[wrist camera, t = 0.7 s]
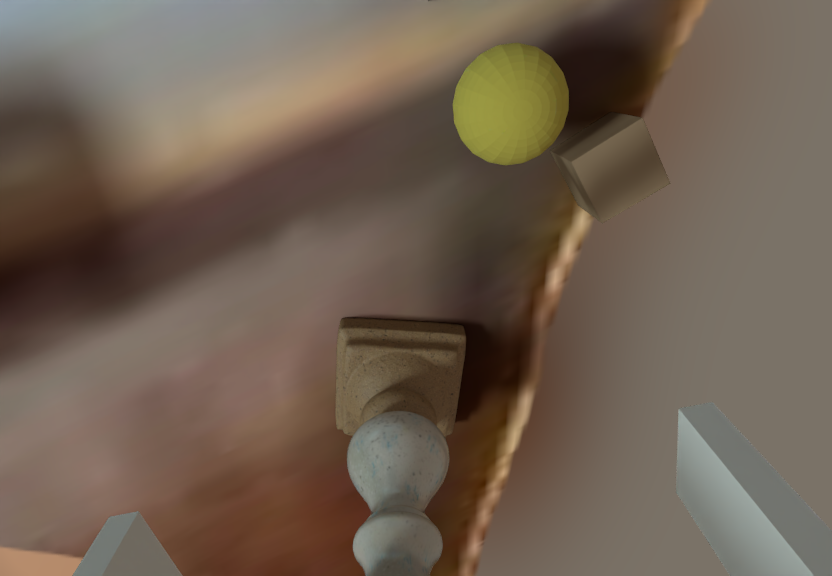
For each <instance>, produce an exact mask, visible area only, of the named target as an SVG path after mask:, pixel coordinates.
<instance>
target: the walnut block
mask: <svg viewBox="0 0 832 576" xmlns="http://www.w3.org/2000/svg"><path fill="white" fill-rule="evenodd" d="M550 152H551V154H552V156H553V158H554V160H555V162H556V163H557V165H558V167H559V169H560V171H561V173H562V175H563V177H564V179H565V181H566V183H567V185H568V187H569V189H570V191H571V192H572V194H573V196H574V198H575V200H576V202H577V204H578V206H580V207H581V208H582V209H584V210H585V211H586V212H588V213H589V214H590V215H592V216H593V217H595V218H596V219H597V220H599V221H600V222H601V223H604V222H605V221H607V220H609V219H611V218H612V217H614V216H616V215H617V214H619V213H621V212H623V211H624V210H626V209H628V208H629V207H631V206H633V205H634V204H636V203H638V202H640V201H641V200H643V199H645V198H646V197H648V196H650V195H652V194H653V193H655V192H657V191H658V190H660V189H662V188H664V187H665V186H667V185H669V184H670V182H669V179H668V177H667V174H666V172H665V170H664V167H663V165H662V163H661V160H660V158H659V155H658V153H657V151H656V148H655V146H654V144H653V141H652V139H651V137H650V134H649V132H648V129H647V127H646V125H645V122H644V120H643V118H641V117H636V116H631V115H626V114H620V113H615V112H610V113H608V114H607V115H605V116H604V117H602V118H601V119H599V120H597V121H596V122H594V123H593V124H591V125H590V126H588V127H586V128H585V129H583V130H582V131H580V132H578V133H577V134H575V135H574V136H572V137H571V138H569V139H567V140H566V141H564V142H563V143H561V144H560V145H558V146H556V147H555V148H553V149H552V150H550Z"/></svg>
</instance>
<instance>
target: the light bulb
mask: <svg viewBox="0 0 832 576" xmlns="http://www.w3.org/2000/svg"><path fill="white" fill-rule="evenodd" d="M568 110H569V90H568V87H567V83H566V80H565V77H564V74H563V72H562V71H561V69H560V68H559V66H558V65H557V64H556V62H555V61H554V60H553V58H552V57H551V56H549V55H548V54H546V53H545V52H543V51H542V50H540V49H539V48H537V47H534V46H530V45H525V44H521V43H511V44H503V45H497V46H495V47H493V48H492V49H490V50H488V51H486V52H484V53H482V54H480V55H479V56H478V57H477V58H476V59H475V60H474V61H473V62H472V63H471V64H470V65H469V66H468V67H467V68H466V69H465V71H464V73H463V75H462V77H461V79H460V80H459V82H458V84H457V87H456V91H455V96H454V101H453V112H454V123H455V125H456V128H457V130H458V133H459V135H460V138H461V140H462V141H463V142H464V143H465V145H466V146H467V147H468V148H469V149H470V150H471V152H472V153H474V154H475V155H477V156H479V157H481V158H482V159H484V160H486V161H488V162H491V163H496V164H501V165H511V164H519V163H524V162H526V161H528V160H530V159H533V158H535V157H537V156H539V155H540V154H542V153H543V152H544V151H545V150H546V149H547V148H548V147H550V146H551V145H552V144H553V143H554V141H555V140H556V138H557V137H558V135H559V133H560V132H561V130H562V129H563V127H564V123H565V120H566V117H567V114H568Z"/></svg>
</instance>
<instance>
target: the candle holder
mask: <svg viewBox="0 0 832 576" xmlns="http://www.w3.org/2000/svg"><path fill="white" fill-rule="evenodd" d="M465 349H466V335H465V331H464V326H462V325H459V324H450V323H439V322H423V321H406V320H390V319H374V318H342V319H341V321H340V325H339V330H338V340H337V368H336V426H337V429H340V430H343V432H344V433H345V434H348V435H352V436H353V437H352V438H351V440H350V443H349V446H348V451H347V468H348V471H349V475H350V478H351V480H352V482H353V484H354V486H355V488H356V489H357V491H358V492H359V494H360V495H361V496H362V497H363V499H364V500H365V501H366V502H367V504H368V506H369V508H370V510H371V515H370V517H369V518H368V519H367V520H366V521H365V523H363V524H362V525H361V527H360V528H359V529H358V531H357V532H356V534H355V537H354V541H353V552H354V555H355V558H356V560H357V561H358V563H359V564H360V565H361V566H362V568H363V570H364V572H365V576H430V572H431V569H432V567H433V566H434V564H435V563H436V562H437V561H438V559H439V557H440V555H441V552H442V537H441V534H440V532H439V530H438V529H437V527H436V526H435V525H434V524H433V523H432V522H431V521H430V520H429V518H428V517H427V516H426V515H425V509H426V507H427V505H428V503H429V502H430V501H431V499H432V498H433V497H434V495H435V494H436V493H437V491H438V490H439V489H440V487H441V485H442V483H443V482H444V479H445V477H446V474H447V471H448V467H449V449H448V444H447V442H446V439H445V438H446V435H449V434H451V433H452V431H453V427H454V423H455V418H456V412H457V405H458V398H459V392H460V385H461V378H462V372H463V365H464V359H465Z"/></svg>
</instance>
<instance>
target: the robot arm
mask: <svg viewBox="0 0 832 576" xmlns="http://www.w3.org/2000/svg"><path fill="white" fill-rule="evenodd" d="M678 415H679V416H678V448H677V479H676V493H677V494H678V496H679V497H680V499H681V500H682V502H683V504H684V505H685V507H686V508H687V510H688V511H689V513H690V514H691V516H692V517H693V519H694V520H695V522H696V524H697V525H698V527H699V528H700V530H701V531H702V533H703V534H704V536H705V538H706V539H707V541H708V542H709V544H710V545H711V547H712V548H713V550H714V551H715V553H716V555H717V556H718V558H719V559H720V561H721V562H722V564H723V565H724V567H725V569H726V570H727V572H728V573H729V575H730V576H832V531H831V530H830V529H829V527H828V526H827V525H826V524H825V523H824V522H823V521H822V520H821V519H820V518H819V517H818V516H817V514H815V512H814V511H813V510H812V509H811V508H810V507H809V506H808V505H807V504H806V503H805V501H804V500H803V499H802V498H801V497H800V496H799V495H798V494H797V493H796V492H795V491H794V490H793V489H792V488H791V486H790V485H789V484H788V483H787V482H786V481H785V480H784V479H783V478H782V477H781V476H780V474H779V473H778V472H777V471H776V470H775V469H774V468H773V467H772V466H771V465H770V464H769V463H768V462H767V460H766V459H765V458H764V457H763V456H762V455H761V454H760V453H759V452H758V451H757V450H756V449H755V448H754V446H753V445H752V444H751V443H750V442H749V441H748V440H747V439H746V438H745V437H744V436H743V434H742V433H741V432H740V431H739V430H738V429H737V428H736V427H735V426H734V425H733V424H732V423H731V422H730V421H729V419H728V418H727V417H726V416H725V415H724V414H723V413H722V412H721V411H720V410H719V408H717V406H716V405H715V404H714V403H713V402H710V403H706V404H700V405H694V406H689V407H684V408H679V413H678ZM73 576H182V575H181V573H180V572H179V570H178V569H177V567H176V566H175V564H174V563H173V561H172V560H171V558H170V557H169V555H168V554H167V553H166V551H165V550H164V548H163V547H162V545H161V544H160V542H159V541H158V539H157V538H156V536H155V535H154V533H153V532H152V530H151V529H150V528H149V526H148V525H147V523H146V522H145V520H144V519H143V517H142V516H141V514H140V513H139V511H138V512H133V513H128V514H123V515H117V516H112V517H109V518H108V520H107V521H106V523H105V525H104V526H103V528H102V529H101V531H100V533H99V534H98V536H97V537H96V539H95V540H94V542H93V544H92V545H91V547H90V548H89V550H88V552H87V553H86V555H85V556H84V558H83V560H82V561H81V563H80V564H79V566H78V568H77V569H76V571H75V572H74V574H73Z"/></svg>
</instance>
